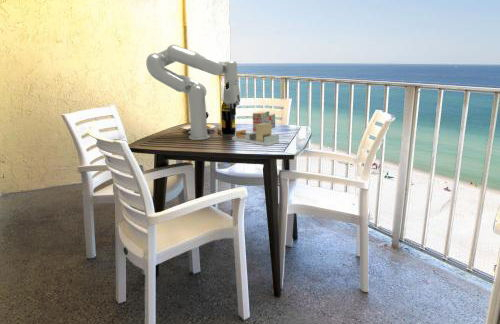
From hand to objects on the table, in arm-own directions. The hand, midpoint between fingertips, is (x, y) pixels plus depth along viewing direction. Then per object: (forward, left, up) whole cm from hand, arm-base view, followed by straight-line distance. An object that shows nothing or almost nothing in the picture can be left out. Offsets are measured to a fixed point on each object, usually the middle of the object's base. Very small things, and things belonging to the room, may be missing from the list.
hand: (233, 114), depth 222 cm
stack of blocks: (-4, +32, -14) cm, 35 cm away
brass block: (+25, 0, -12) cm, 27 cm away
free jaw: (+12, 0, -12) cm, 17 cm away
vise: (+18, 0, -14) cm, 22 cm away
